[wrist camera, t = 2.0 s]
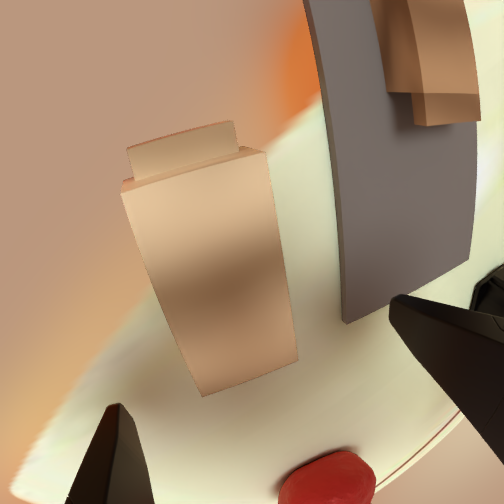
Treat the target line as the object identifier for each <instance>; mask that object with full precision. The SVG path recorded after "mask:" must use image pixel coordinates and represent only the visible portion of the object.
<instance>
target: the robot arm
mask: <svg viewBox="0 0 504 504" xmlns="http://www.w3.org/2000/svg"><path fill="white" fill-rule="evenodd" d="M389 321H390V323H391V325H392V326H393V327H394V329H395V330H396V332H397V333H398V334H399V336H400V337H401V339H402V340H403V341H404V343H405V344H406V346H407V347H408V349H409V350H410V351H411V353H412V354H413V355H414V356H415V358H416V359H417V360H418V361H419V362H420V363H421V365H422V366H423V367H424V368H425V369H426V370H427V372H428V373H429V374H430V375H431V376H432V377H433V378H434V380H435V381H436V382H437V383H438V384H439V385H440V387H441V388H442V389H443V390H444V391H445V393H446V394H447V395H448V396H449V397H450V398H451V400H452V401H453V402H454V403H455V404H456V406H457V407H458V408H459V409H460V410H461V412H462V413H463V414H464V415H465V417H466V418H467V419H468V420H469V421H470V422H471V424H472V425H473V426H474V428H475V429H476V430H477V431H478V433H479V434H480V435H481V436H482V438H483V439H484V440H485V442H486V443H487V444H488V445H489V446H490V448H491V449H492V450H493V451H494V453H495V454H496V455H497V457H498V458H499V459H500V461H501V462H502V463H503V465H504V264H503V265H502V266H501V267H500V268H498V269H497V270H496V271H494V272H493V273H492V274H490V275H489V276H488V277H486V278H485V279H483V280H482V281H481V282H479V283H478V285H477V286H476V289H475V293H474V298H473V302H472V306H471V310H468V309H463V308H459V307H455V306H451V305H447V304H443V303H438V302H434V301H430V300H426V299H422V298H417V297H413V296H409V295H405V294H398V295H396V296H394V297H392V298H391V300H390V306H389ZM68 496H69V497H67V499H66V501H65V504H155V503H154V498H153V493H152V489H151V483H150V478H149V473H148V468H147V464H146V461H145V457H144V454H143V450H142V447H141V443H140V440H139V436H138V432H137V429H136V425H135V422H134V420H133V418H132V417H131V415H130V414H129V413H128V411H127V410H126V409H125V407H124V406H123V405H122V404H121V403H115V404H112V405H109V406H108V407H107V408H106V410H105V412H104V414H103V417H102V419H101V421H100V423H99V425H98V427H97V430H96V432H95V434H94V436H93V438H92V441H91V443H90V445H89V447H88V449H87V452H86V454H85V456H84V459H83V461H82V463H81V465H80V468H79V470H78V472H77V475H76V477H75V480H74V482H73V484H72V487H71V489H70V492H69V494H68Z"/></svg>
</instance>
